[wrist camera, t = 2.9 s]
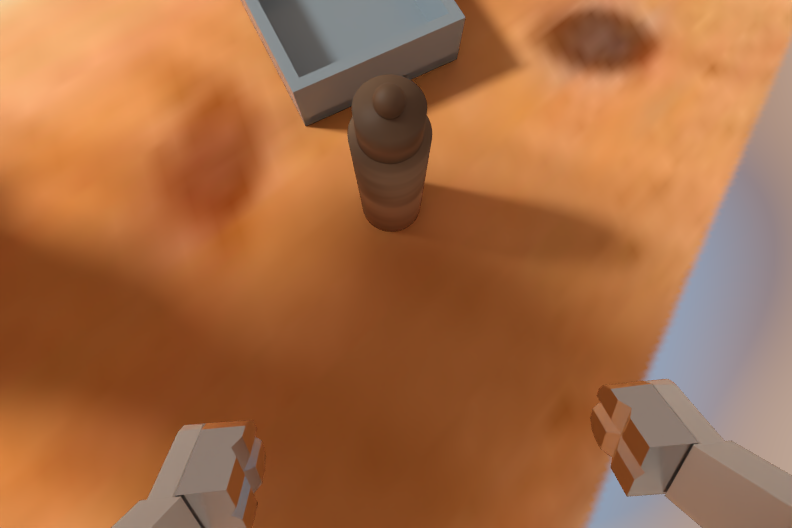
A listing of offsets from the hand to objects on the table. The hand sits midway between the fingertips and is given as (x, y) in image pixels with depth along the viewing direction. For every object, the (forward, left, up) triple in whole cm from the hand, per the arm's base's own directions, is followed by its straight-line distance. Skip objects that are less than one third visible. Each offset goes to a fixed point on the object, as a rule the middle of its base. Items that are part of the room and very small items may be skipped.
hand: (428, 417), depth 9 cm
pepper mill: (-11, +4, -16) cm, 20 cm away
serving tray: (-26, +8, -16) cm, 31 cm away
